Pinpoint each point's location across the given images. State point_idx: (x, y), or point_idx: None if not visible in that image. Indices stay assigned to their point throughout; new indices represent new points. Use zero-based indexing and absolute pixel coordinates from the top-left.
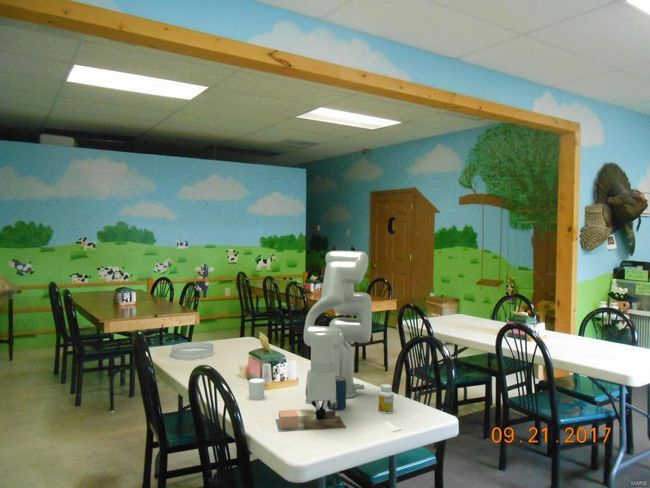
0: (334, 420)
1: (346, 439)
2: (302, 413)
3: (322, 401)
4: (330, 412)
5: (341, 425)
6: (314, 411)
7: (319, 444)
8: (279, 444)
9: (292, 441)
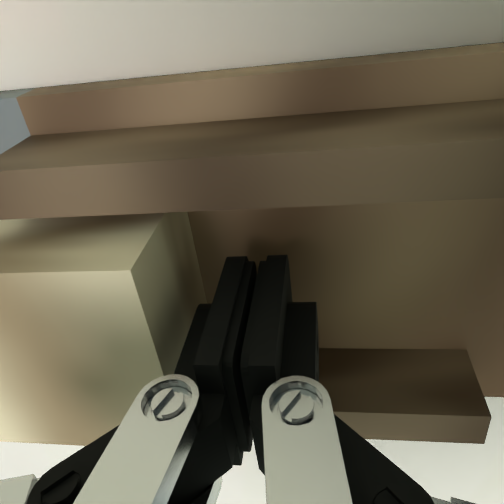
0: (409, 437)
1: (440, 477)
2: (11, 389)
3: (267, 493)
4: (448, 195)
5: (493, 346)
6: (171, 159)
7: (239, 494)
8: (3, 460)
9: (68, 445)
